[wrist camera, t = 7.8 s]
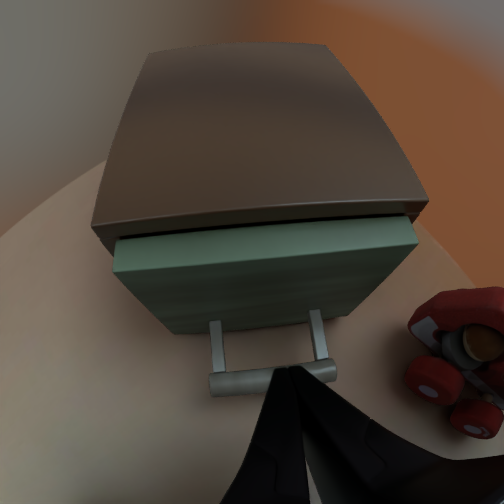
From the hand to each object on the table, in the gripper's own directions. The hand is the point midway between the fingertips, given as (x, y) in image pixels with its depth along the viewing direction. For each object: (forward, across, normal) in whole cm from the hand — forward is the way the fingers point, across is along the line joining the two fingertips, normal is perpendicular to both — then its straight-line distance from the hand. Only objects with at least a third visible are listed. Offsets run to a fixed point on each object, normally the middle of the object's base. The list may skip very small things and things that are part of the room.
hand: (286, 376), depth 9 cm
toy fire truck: (+4, -13, +7) cm, 16 cm away
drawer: (+11, 0, 0) cm, 11 cm away
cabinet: (+14, 0, -2) cm, 14 cm away
